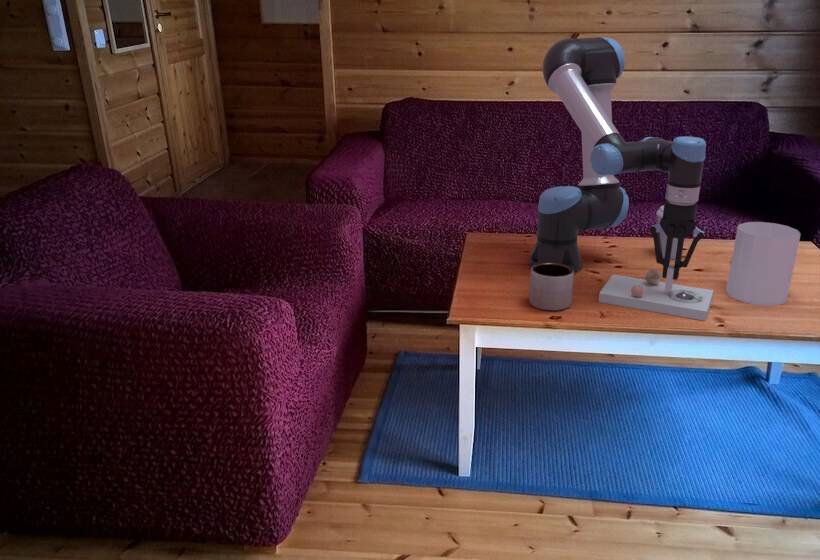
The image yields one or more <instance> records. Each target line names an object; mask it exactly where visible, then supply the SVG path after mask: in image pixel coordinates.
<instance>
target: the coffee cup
mask: <svg viewBox="0 0 820 560" xmlns="http://www.w3.org/2000/svg"><path fill="white" fill-rule="evenodd" d="M663 211H664V205H662V206H660V207H659V209H657V211H656V213H655V215H656V216H657V224H658V223H660V221H661V219H662V217H663ZM660 228H661V230H660V232H659V233H660V239H661V247H662V255H663V258H664V257H665V251H666V244H667V236H666V234H665V233H664V231H663V229H662V227H660ZM677 244H678V239H677V238H673V244H672V251H671V258H670V260H672V259H673V260H675V258H676V251H677Z"/></svg>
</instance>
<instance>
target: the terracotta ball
mask: <svg viewBox="0 0 820 560" xmlns="http://www.w3.org/2000/svg"><path fill="white" fill-rule="evenodd" d="M631 293H632V295H633V296H635V297H640V296H641V295H642V294H643V288H642V287H641V286H639V285H635V286H633V287H632V289H631Z"/></svg>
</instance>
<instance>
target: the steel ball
mask: <svg viewBox="0 0 820 560" xmlns="http://www.w3.org/2000/svg"><path fill="white" fill-rule="evenodd" d="M676 297H677V298H680V299H683V300H690V296H689V295H688V294H687V293H685V292H680V293H678V294H677V295H676Z"/></svg>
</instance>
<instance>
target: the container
mask: <svg viewBox="0 0 820 560" xmlns="http://www.w3.org/2000/svg"><path fill="white" fill-rule="evenodd" d="M800 239H801V232H800V231H799V230H798V229H796V228H793V227H791V226H789V225H784V224H780V223H775V222H764V221H746V222H743V223H740V224H738V225H737V228H736V233H735V240H734V243H733V251H732V255H733V256H732V257H731V261H730V262H731V263H730V268H729V274H728V280H727V284H726V285H727V286H726V291H725V292H726V293H727V295H728V296H730V298H733V299H735V300H737V301H739V302H742V303H747V304H751V305H756V306H770V307H772V306H777V305H783V304H784V303H785V302H786V301H787V300H788V296H789V291H790V288H791V287H790V286H791V282H792V277H793V273H794V272H793V271H794V268H795V263H796V258H797V254H798V250H799V248H798V247H799V243H800V241H801V240H800Z"/></svg>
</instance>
